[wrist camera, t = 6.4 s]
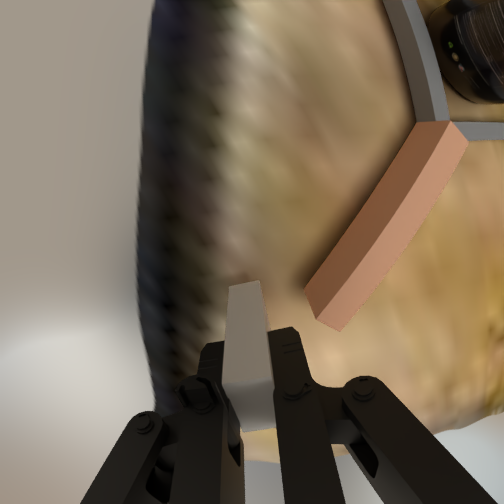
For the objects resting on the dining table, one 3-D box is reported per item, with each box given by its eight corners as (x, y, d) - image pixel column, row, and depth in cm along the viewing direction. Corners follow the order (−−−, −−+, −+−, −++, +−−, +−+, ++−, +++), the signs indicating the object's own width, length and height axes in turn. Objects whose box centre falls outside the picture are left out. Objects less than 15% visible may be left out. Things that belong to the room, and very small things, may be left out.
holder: (230, -29, 10) (228, -60, 7) (481, -4, 9) (506, -14, 6) (306, 305, 16) (318, 337, 13) (519, 240, 15) (545, 254, 12)
